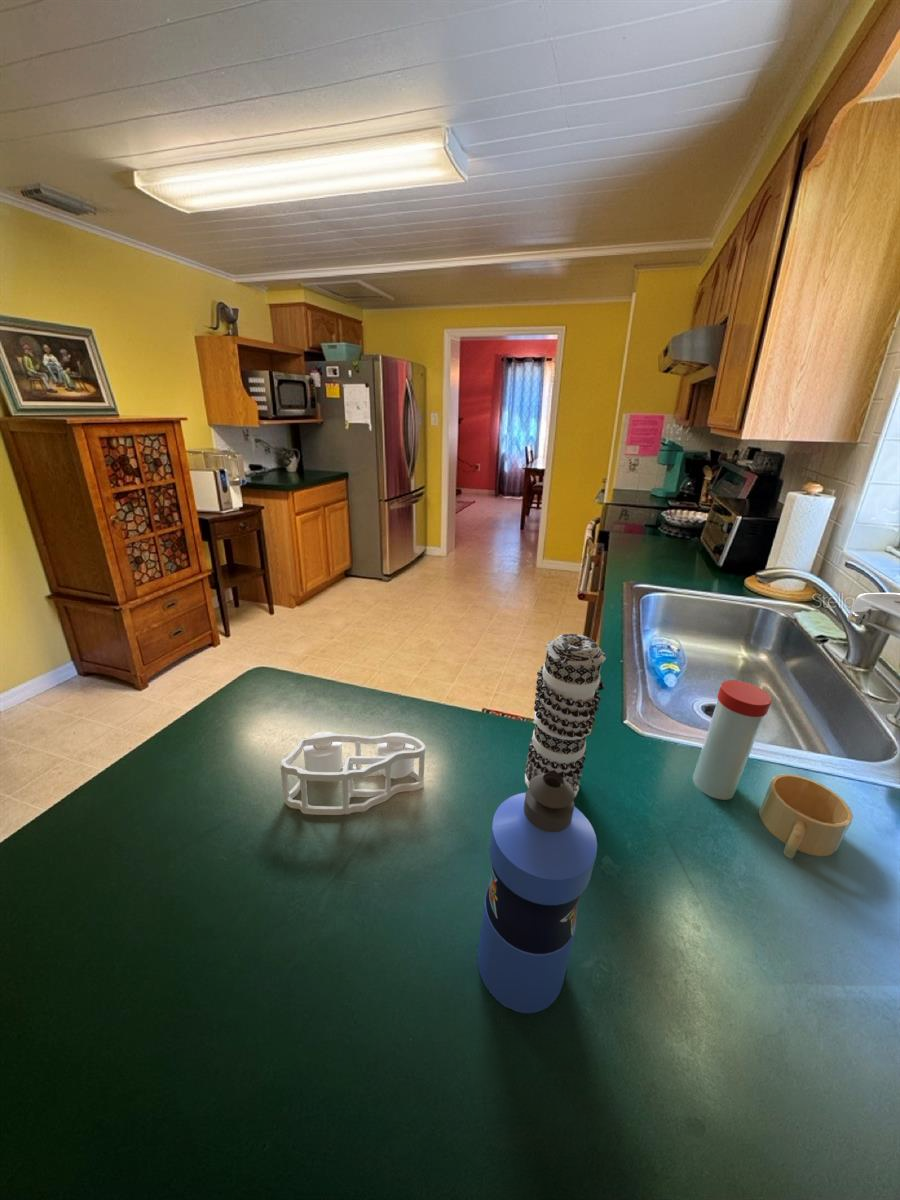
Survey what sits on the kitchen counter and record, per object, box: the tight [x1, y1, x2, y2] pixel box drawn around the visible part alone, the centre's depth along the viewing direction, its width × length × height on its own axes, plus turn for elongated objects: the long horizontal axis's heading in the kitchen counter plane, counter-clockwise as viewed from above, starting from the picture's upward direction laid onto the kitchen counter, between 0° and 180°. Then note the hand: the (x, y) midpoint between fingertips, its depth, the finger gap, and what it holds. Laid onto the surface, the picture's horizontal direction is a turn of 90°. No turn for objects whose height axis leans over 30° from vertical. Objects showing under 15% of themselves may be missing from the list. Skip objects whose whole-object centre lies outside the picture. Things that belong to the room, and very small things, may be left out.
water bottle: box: [477, 772, 598, 1014], centre depth 45 cm, size 9×9×25 cm
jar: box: [692, 679, 772, 801], centre depth 71 cm, size 6×6×18 cm
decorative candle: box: [524, 633, 607, 799], centre depth 69 cm, size 9×9×25 cm
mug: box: [758, 773, 854, 859], centre depth 66 cm, size 12×9×6 cm
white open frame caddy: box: [280, 731, 427, 816], centre depth 70 cm, size 20×11×7 cm, turn 93°
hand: (882, 631), depth 66 cm, fingers open, 8 cm apart
